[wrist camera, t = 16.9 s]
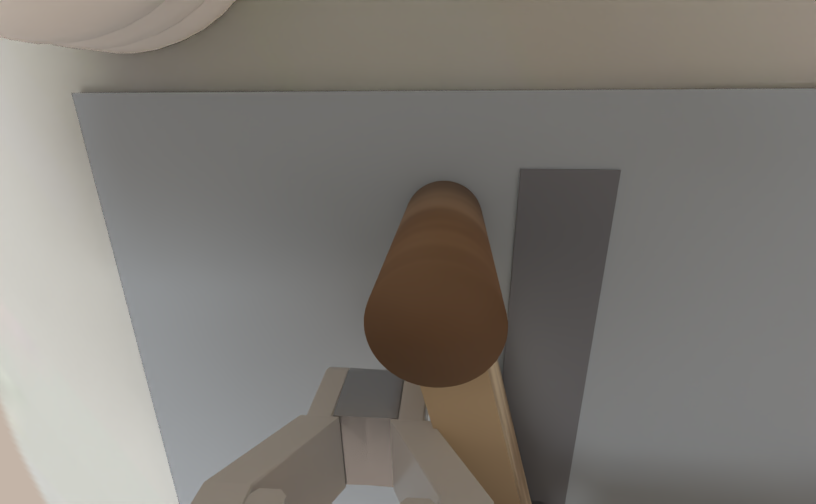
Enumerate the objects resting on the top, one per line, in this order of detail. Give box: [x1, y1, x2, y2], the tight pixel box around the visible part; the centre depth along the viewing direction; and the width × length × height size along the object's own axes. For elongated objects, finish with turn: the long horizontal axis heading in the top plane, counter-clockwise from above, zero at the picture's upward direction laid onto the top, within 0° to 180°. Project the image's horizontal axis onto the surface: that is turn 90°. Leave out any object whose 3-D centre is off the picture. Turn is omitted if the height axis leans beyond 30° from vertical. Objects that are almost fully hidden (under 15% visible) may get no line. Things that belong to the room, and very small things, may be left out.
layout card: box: [72, 88, 816, 504], centre depth 15 cm, size 24×28×1 cm
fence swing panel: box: [364, 181, 532, 504], centre depth 11 cm, size 13×2×6 cm, turn 15°
